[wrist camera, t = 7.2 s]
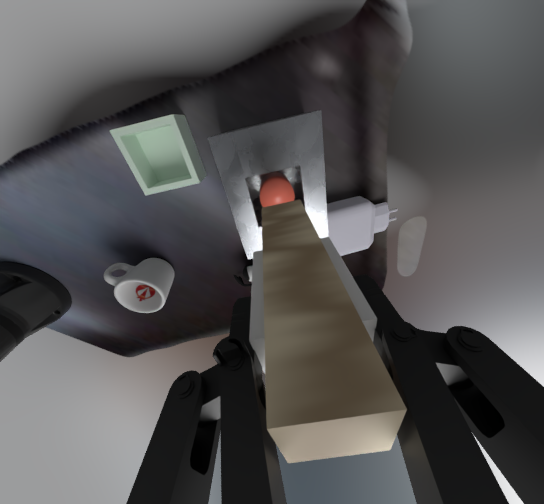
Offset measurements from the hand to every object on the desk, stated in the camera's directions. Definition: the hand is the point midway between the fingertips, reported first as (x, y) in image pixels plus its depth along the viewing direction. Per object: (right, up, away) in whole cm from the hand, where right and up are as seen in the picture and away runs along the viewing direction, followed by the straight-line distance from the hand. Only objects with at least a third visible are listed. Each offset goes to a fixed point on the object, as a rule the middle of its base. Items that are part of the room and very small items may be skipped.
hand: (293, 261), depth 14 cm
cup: (-26, -2, +27) cm, 37 cm away
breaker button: (-1, +10, +15) cm, 18 cm away
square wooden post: (0, +4, +5) cm, 7 cm away
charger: (+13, +7, +24) cm, 29 cm away
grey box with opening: (-1, +12, +19) cm, 22 cm away
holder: (-16, +15, +16) cm, 27 cm away
